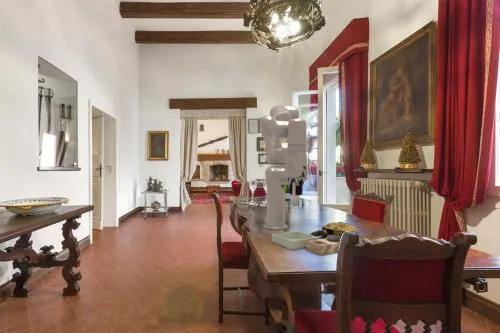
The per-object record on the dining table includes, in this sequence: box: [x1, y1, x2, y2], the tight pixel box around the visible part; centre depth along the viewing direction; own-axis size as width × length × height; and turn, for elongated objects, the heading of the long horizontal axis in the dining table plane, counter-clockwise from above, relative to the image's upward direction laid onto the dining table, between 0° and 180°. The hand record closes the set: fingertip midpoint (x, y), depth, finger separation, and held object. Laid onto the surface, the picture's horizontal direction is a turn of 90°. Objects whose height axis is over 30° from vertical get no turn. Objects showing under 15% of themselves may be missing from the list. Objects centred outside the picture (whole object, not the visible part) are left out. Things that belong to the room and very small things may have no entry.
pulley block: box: [308, 221, 361, 239], centre depth 145 cm, size 14×6×30 cm
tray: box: [271, 230, 320, 251], centre depth 129 cm, size 14×14×4 cm
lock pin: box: [291, 181, 301, 207], centre depth 128 cm, size 3×3×10 cm
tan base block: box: [305, 235, 342, 256], centre depth 120 cm, size 14×8×5 cm, turn 120°
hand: (295, 194), depth 128 cm, fingers closed on lock pin, 3 cm apart
